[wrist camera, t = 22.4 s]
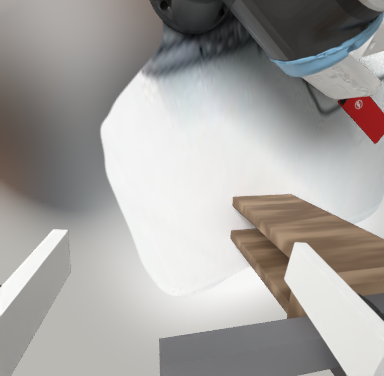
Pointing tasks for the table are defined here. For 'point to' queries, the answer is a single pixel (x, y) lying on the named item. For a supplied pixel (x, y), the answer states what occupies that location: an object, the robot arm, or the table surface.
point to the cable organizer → (350, 72)
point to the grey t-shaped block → (253, 350)
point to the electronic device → (365, 115)
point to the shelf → (312, 235)
